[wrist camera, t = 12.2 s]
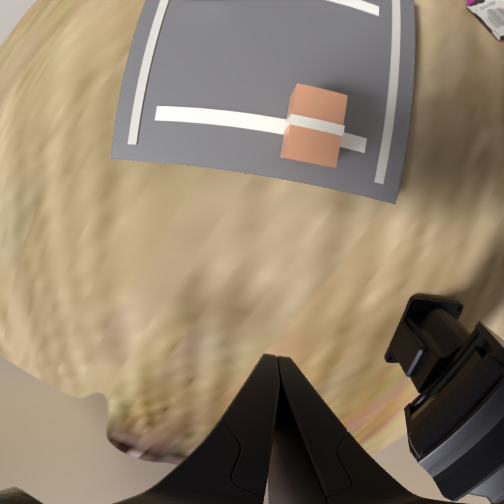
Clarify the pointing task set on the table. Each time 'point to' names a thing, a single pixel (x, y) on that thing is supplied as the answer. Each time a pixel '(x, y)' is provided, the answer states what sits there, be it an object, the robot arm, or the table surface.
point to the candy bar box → (489, 15)
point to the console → (269, 86)
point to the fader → (314, 126)
